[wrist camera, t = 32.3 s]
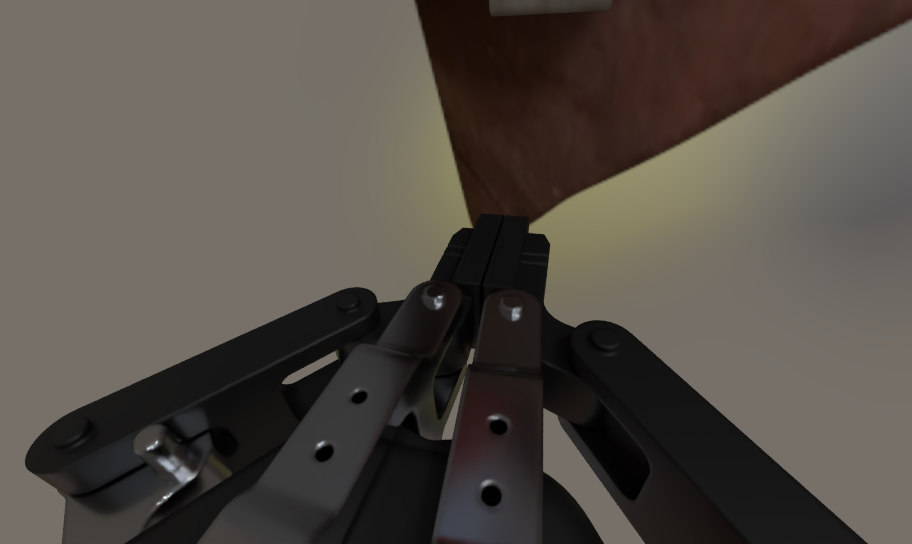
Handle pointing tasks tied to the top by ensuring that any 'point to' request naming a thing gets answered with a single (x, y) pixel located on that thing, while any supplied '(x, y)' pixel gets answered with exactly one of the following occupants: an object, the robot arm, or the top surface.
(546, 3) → the drawer
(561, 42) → the top surface
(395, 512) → the robot arm
